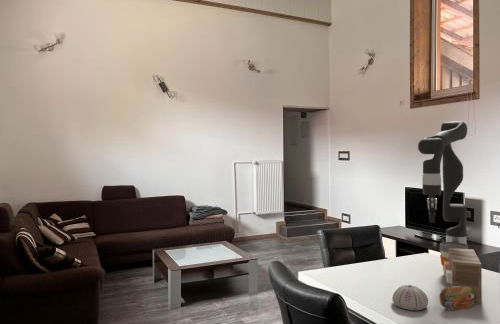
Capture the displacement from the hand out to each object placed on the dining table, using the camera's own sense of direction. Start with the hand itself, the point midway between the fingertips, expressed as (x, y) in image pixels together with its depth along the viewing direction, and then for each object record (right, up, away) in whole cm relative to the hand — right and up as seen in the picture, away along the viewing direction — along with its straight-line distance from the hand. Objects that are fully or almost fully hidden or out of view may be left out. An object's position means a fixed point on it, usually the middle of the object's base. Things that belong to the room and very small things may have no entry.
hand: (432, 222), depth 172 cm
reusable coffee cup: (+19, -29, +17) cm, 38 cm away
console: (+11, -29, -6) cm, 31 cm away
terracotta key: (+11, -23, +3) cm, 25 cm away
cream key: (+5, -23, -10) cm, 26 cm away
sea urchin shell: (-18, -30, -19) cm, 40 cm away
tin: (0, -30, -22) cm, 37 cm away
